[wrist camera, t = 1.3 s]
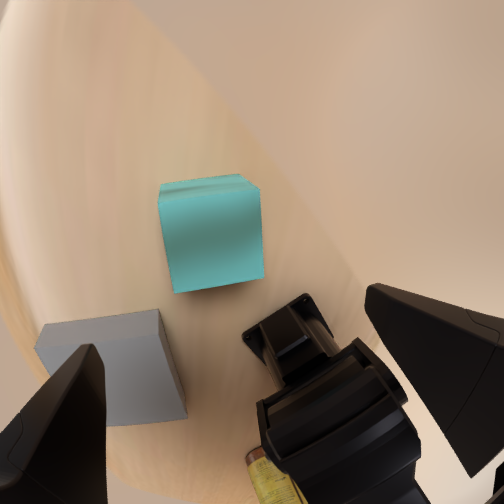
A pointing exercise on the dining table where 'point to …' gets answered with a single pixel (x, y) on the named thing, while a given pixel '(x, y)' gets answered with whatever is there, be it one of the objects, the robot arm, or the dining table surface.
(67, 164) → the dining table surface
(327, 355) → the robot arm
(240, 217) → the teal cube
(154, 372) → the gray plinth
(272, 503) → the sauce bottle
